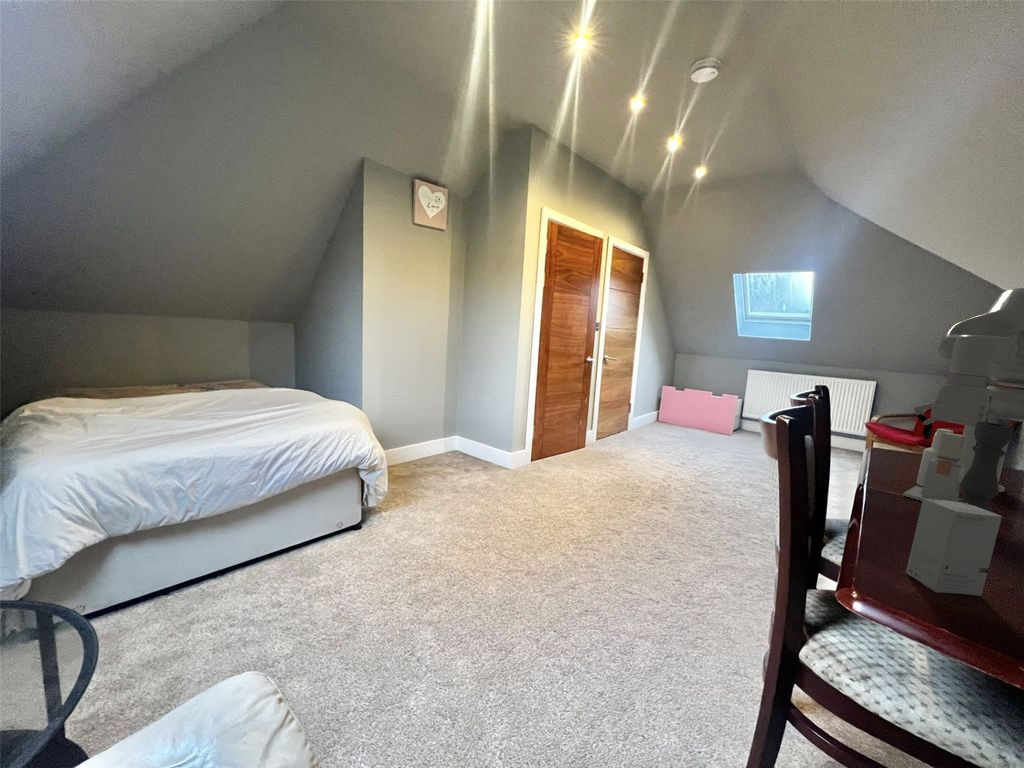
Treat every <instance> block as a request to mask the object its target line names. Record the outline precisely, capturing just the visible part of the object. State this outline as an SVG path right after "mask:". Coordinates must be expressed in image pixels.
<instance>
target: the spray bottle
mask: <svg viewBox="0 0 1024 768" xmlns="http://www.w3.org/2000/svg"><path fill="white" fill-rule="evenodd" d="M946 432H947V433H953V434H954V430H950V429H947V428H946V429H945V428H938V429H936V432H935V435H934V436H933V440H932V443H931V447H927V448H924V449H923V452H922V457H921V461H920V466H919V470H918V474H917V479H916V485H917V486H919V487H922V488H923V485H924V481H925V477H926V473H927V468H928V464H929V461H930V460H932V459H934V458H937V455H938V453H939V449H940V445H941V440H942V436H943V433H946Z"/></svg>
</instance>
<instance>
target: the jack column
mask: <svg viewBox="0 0 1024 768" xmlns="http://www.w3.org/2000/svg"><path fill="white" fill-rule="evenodd" d="M964 439H965V436H964V435H963V434H957V433H954V432H953V433H947V432H946V433H943V436H942V440H941V445H940V449H939V453H938V455H937V462H939V461H940V460H941V461H945V462H949V463H950V465H952V466H956V467H957V466H958V464H959V460H960V456H961V452H962V447H963V443H964Z"/></svg>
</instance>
